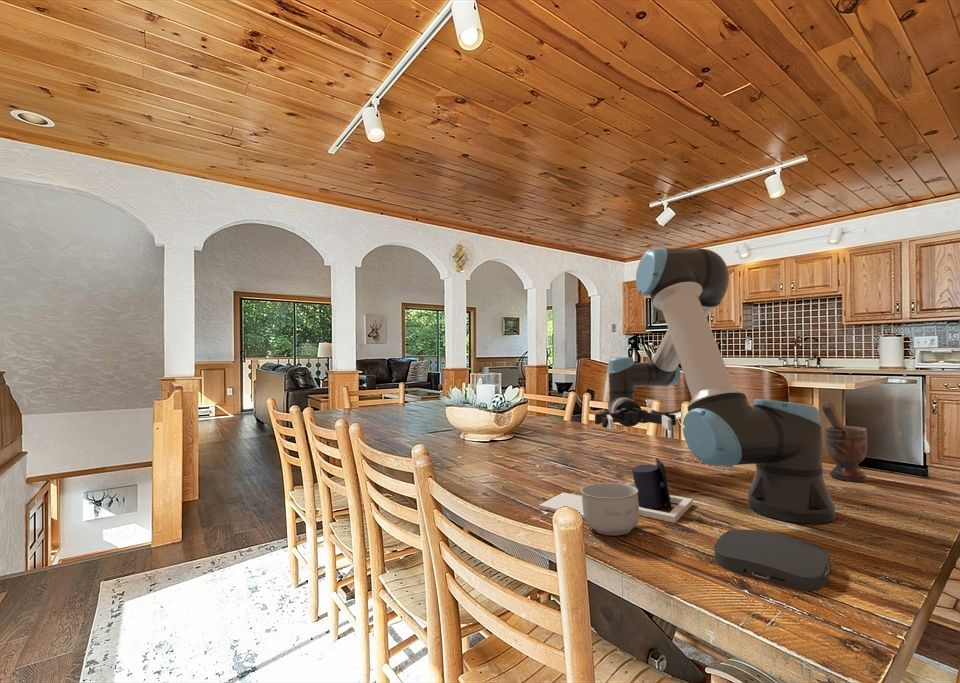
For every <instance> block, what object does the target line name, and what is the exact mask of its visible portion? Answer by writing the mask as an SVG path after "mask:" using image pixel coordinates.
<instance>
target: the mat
mask: <svg viewBox="0 0 960 683" xmlns="http://www.w3.org/2000/svg"><path fill="white" fill-rule="evenodd" d="M563 506H568V507H571V508H574V509H576V510H578V512H580V514H581V515H582V517H583V519H582V520H585V518H584V513H583V505H582V495H578V494H573V493H567V492H561V493H559V494H558V495H556V496H554V497H552V498H550V499H547V500H545V501H544V502H542V503H540V504H538V509H540V510H544V511H547V510H549V511H548V512H551V511H552V513H555V512H554V511H555V510H556V509H558V508H560V507H563ZM550 510H551V511H550Z"/></svg>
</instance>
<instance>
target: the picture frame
mask: <svg viewBox="0 0 960 683" xmlns="http://www.w3.org/2000/svg"><path fill="white" fill-rule="evenodd" d="M669 495H670V501H671V504H677V505H676V506H675V507H674V508H672V511H671V512H670V511H669V512H666V511H661V510H655V509H652V508H643V507H640V506H639V516H640V515H641V516H640V517H646V518H649V517H650V519H655V520H659V521H664V522H670V523H674V524H675V523H676V522H677V521H678V520H679V519H680V518H681V517H682V516H683V515H684V514H685V513H686V512H687V511H688V510H689V509H690V508H691V507H692V506H693V505H694V498H689V497H683V496H680V495H679V496H678V495H673V494H669Z"/></svg>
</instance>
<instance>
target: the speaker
mask: <svg viewBox="0 0 960 683" xmlns="http://www.w3.org/2000/svg"><path fill="white" fill-rule="evenodd" d="M655 462H656V465H655V464H640V465H637V466H634V467H632V469H631V471H632V472H631V473H632V477H633V482H634V483H633V484H634V485H635V486H636V488H637V489H638V503H639V507H641V508H646V509H659V508H661V507H663V506H665V507H666V509H668V511H669V513H670V512H671V511H672V510H673V506H672V503H671V501H670V495H671V494H670V491H669V485H668V481H667V476H666V470H665V465H664V463H663V462H662V461H661V460H660V459H659V458H655Z"/></svg>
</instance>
